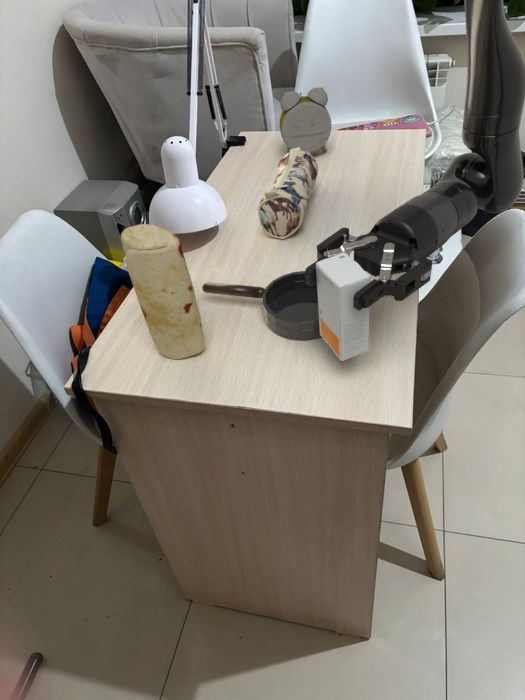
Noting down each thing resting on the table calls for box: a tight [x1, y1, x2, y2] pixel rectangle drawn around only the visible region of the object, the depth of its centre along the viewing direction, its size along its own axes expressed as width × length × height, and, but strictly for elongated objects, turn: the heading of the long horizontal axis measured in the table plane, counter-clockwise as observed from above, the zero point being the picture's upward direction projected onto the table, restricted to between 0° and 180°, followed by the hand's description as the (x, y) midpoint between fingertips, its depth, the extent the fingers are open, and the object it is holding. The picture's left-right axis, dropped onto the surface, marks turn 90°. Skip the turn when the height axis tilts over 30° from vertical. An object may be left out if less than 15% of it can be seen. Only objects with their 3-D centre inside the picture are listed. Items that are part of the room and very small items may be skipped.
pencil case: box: [257, 147, 319, 240], centre depth 101 cm, size 22×8×10 cm, turn 167°
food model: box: [120, 223, 206, 360], centre depth 71 cm, size 10×7×20 cm
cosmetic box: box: [316, 252, 371, 362], centre depth 63 cm, size 6×4×12 cm
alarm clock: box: [279, 86, 332, 155], centre depth 118 cm, size 12×7×15 cm, turn 94°
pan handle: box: [201, 281, 265, 300], centre depth 82 cm, size 11×2×2 cm, turn 73°
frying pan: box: [261, 270, 323, 342], centre depth 79 cm, size 13×13×4 cm
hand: (331, 290), depth 60 cm, fingers closed on cosmetic box, 7 cm apart
